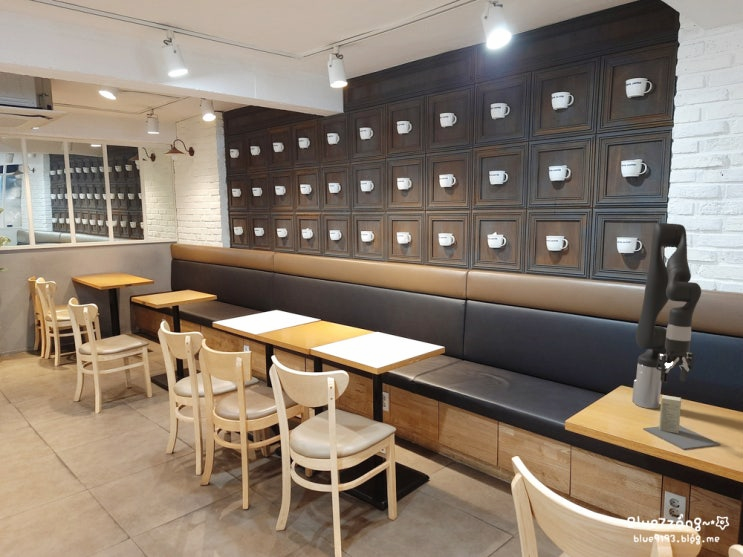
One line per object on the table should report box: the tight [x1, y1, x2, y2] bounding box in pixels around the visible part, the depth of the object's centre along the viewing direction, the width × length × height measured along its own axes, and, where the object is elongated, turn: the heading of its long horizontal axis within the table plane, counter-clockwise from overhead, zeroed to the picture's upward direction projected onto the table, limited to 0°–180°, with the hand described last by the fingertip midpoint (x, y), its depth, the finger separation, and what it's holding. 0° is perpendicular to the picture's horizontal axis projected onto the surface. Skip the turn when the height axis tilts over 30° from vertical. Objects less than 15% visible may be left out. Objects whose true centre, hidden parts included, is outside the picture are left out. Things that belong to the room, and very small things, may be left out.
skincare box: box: [658, 394, 682, 433], centre depth 185 cm, size 6×4×12 cm
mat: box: [642, 424, 721, 451], centre depth 181 cm, size 17×16×1 cm
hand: (673, 381), depth 184 cm, fingers open, 8 cm apart
